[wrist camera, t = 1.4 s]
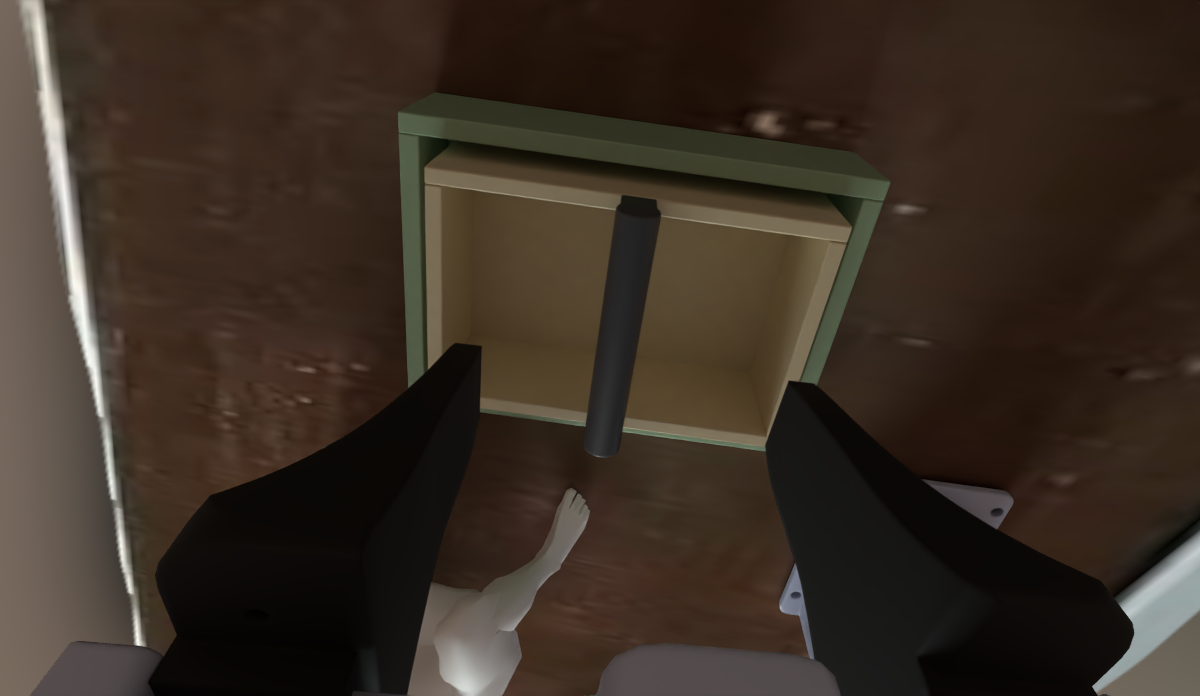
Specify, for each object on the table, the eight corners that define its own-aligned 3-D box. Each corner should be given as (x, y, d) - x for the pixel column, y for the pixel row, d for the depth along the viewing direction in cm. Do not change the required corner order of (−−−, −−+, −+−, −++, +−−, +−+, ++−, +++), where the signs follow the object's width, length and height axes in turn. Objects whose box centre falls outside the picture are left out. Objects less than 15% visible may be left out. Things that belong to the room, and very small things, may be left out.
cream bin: (756, 379, 25) (786, 483, 20) (460, 338, 25) (411, 432, 20) (815, 183, 21) (872, 248, 16) (463, 133, 21) (402, 183, 16)
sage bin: (774, 399, 26) (792, 455, 23) (436, 353, 26) (408, 403, 23) (855, 152, 21) (891, 181, 18) (433, 92, 21) (397, 111, 18)
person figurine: (233, 615, 18) (191, 968, 24) (640, 638, 22) (514, 937, 28) (321, 400, 30) (277, 674, 36) (576, 439, 33) (497, 681, 39)
